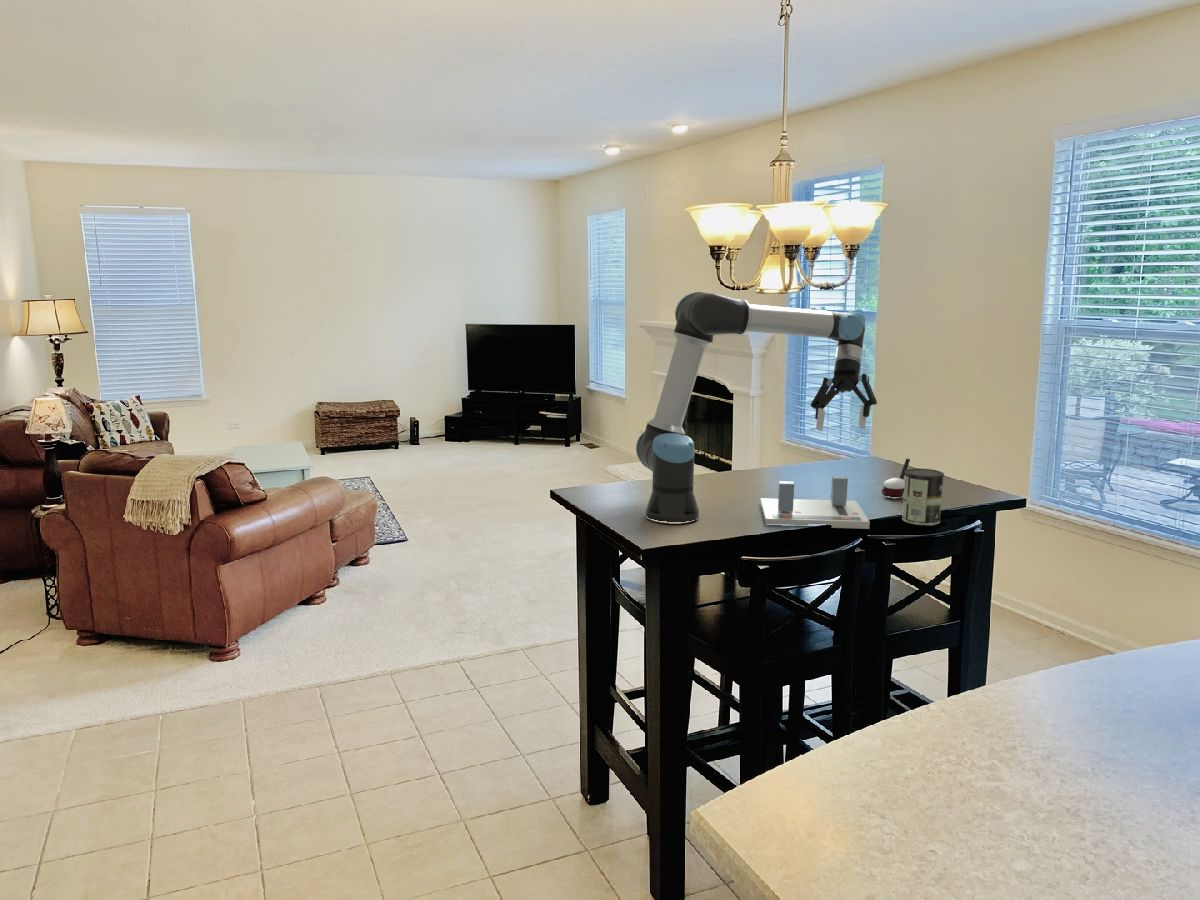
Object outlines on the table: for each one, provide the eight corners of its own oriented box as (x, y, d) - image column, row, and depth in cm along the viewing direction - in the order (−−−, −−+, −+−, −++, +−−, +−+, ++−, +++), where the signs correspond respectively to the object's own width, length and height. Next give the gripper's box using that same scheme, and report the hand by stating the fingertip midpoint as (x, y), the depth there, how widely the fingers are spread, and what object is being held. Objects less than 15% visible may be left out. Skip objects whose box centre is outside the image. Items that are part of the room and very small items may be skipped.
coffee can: (936, 516, 250) (940, 468, 247) (943, 526, 240) (947, 477, 237) (899, 514, 252) (902, 467, 249) (904, 524, 242) (907, 475, 239)
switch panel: (765, 525, 241) (765, 518, 241) (760, 504, 263) (760, 497, 262) (869, 528, 238) (869, 521, 238) (855, 507, 260) (855, 500, 259)
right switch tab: (832, 505, 253) (833, 478, 251) (830, 502, 256) (832, 476, 254) (846, 505, 252) (847, 478, 251) (844, 502, 255) (846, 476, 253)
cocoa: (883, 501, 268) (884, 464, 265) (876, 495, 274) (877, 458, 271) (913, 500, 268) (915, 462, 265) (906, 494, 274) (908, 457, 271)
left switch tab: (778, 510, 247) (779, 483, 245) (777, 508, 250) (778, 481, 248) (792, 511, 246) (794, 484, 245) (791, 508, 249) (793, 481, 247)
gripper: (892, 362, 257) (885, 430, 251) (816, 370, 273) (808, 434, 268) (882, 352, 251) (874, 421, 246) (804, 361, 268) (796, 426, 263)
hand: (840, 428), depth 257 cm, fingers open, 13 cm apart
